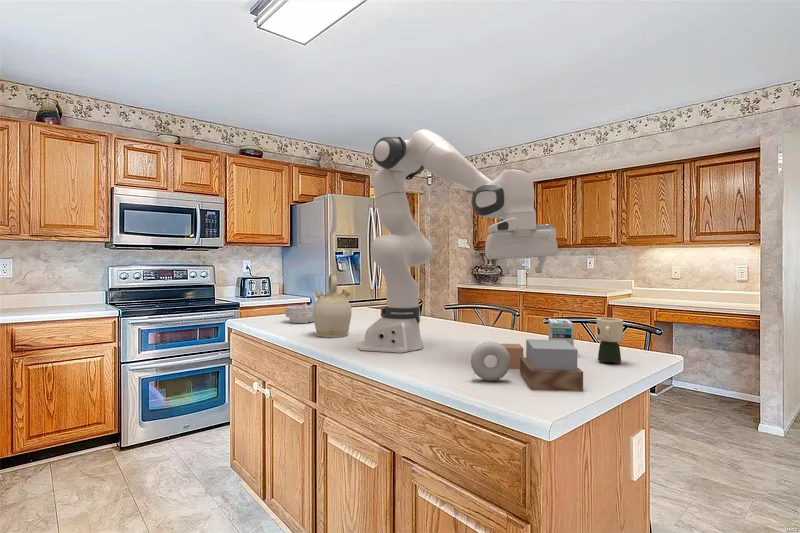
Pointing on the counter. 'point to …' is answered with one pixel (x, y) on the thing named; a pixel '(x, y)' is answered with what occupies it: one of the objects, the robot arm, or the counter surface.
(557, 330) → the light bulb box
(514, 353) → the terracotta cube
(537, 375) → the walnut base block
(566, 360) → the grey top block
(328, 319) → the jug
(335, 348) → the counter surface
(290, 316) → the paper bowls
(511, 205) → the robot arm
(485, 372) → the donut
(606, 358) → the character mug
